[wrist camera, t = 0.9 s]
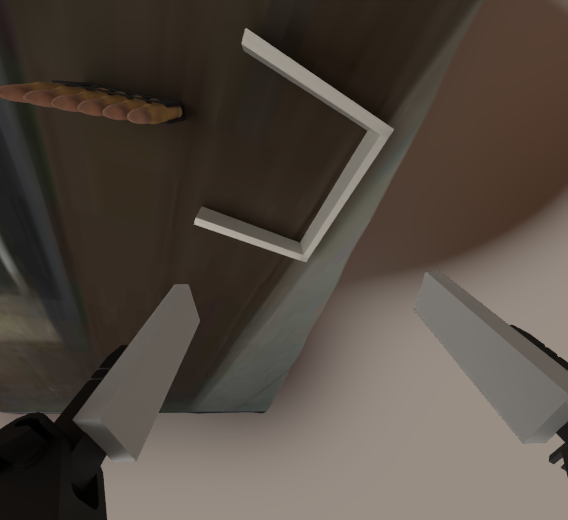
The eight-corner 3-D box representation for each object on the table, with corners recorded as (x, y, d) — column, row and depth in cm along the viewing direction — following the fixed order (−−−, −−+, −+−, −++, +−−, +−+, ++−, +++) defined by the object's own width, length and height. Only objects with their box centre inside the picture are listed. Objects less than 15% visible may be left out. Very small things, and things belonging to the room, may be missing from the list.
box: (247, 37, 23) (245, 27, 20) (379, 125, 30) (394, 129, 26) (199, 212, 35) (193, 224, 32) (302, 249, 41) (305, 262, 38)
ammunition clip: (182, 102, 26) (139, 106, 17) (184, 120, 27) (144, 133, 18) (82, 82, 24) (-31, 73, 15) (88, 102, 25) (-14, 105, 16)
